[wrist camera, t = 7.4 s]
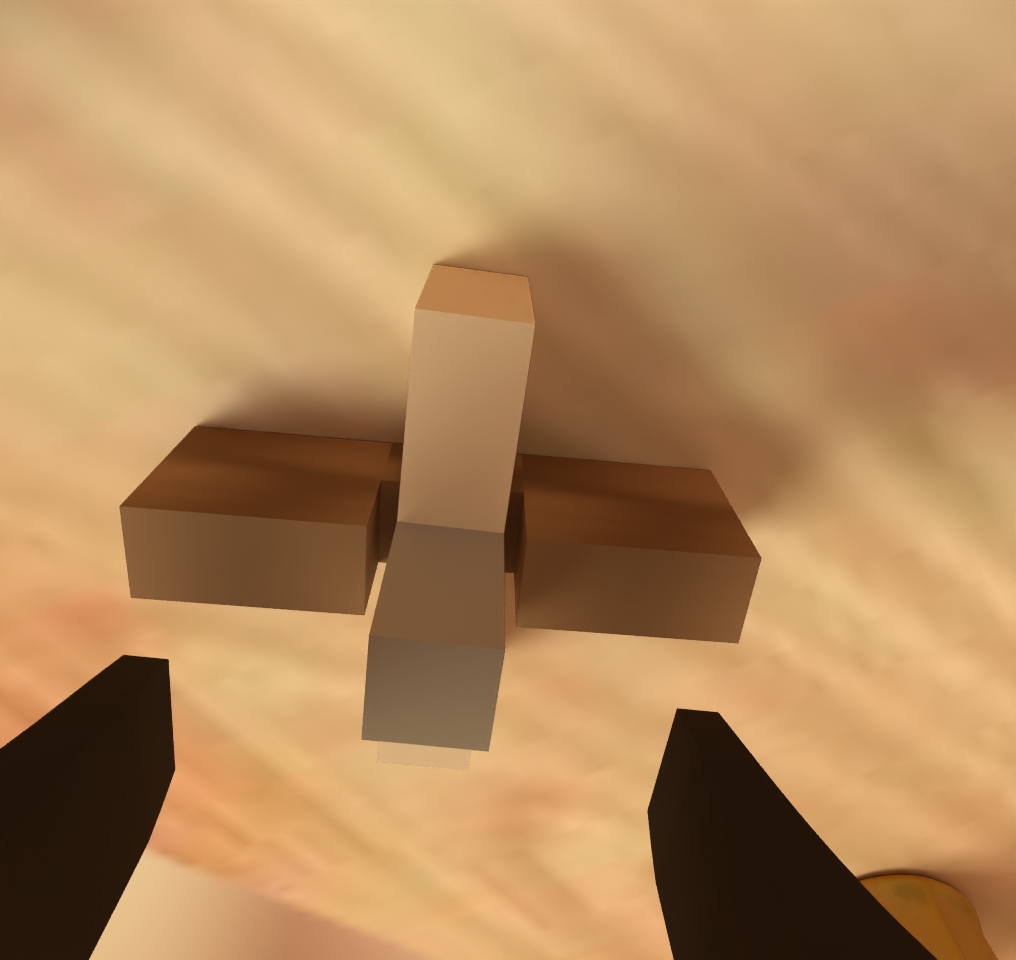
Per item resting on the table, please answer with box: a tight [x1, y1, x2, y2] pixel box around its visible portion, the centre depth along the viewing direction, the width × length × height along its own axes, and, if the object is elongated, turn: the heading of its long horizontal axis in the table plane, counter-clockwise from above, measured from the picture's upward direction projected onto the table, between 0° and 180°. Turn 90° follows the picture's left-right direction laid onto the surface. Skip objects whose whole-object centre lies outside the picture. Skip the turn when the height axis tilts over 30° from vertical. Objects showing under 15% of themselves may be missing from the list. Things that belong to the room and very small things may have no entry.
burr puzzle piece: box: [362, 264, 535, 771], centre depth 15 cm, size 10×2×8 cm, turn 172°
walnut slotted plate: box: [120, 426, 761, 643], centre depth 17 cm, size 12×2×4 cm, turn 84°
